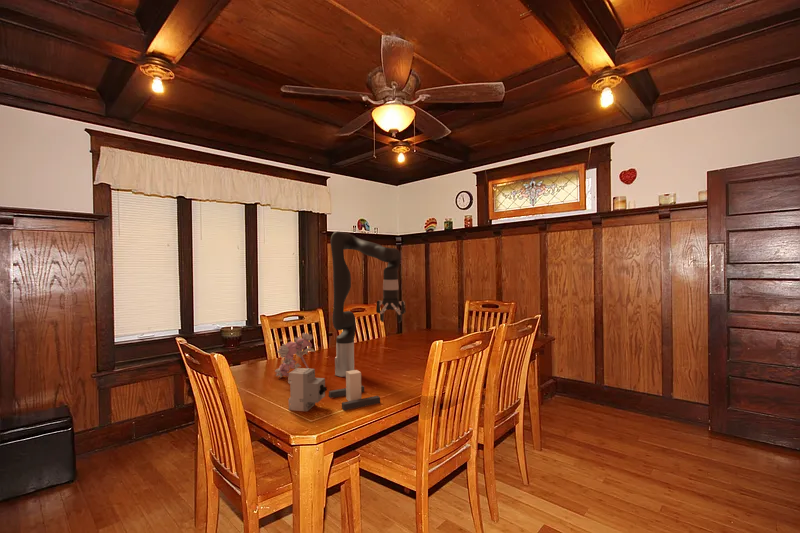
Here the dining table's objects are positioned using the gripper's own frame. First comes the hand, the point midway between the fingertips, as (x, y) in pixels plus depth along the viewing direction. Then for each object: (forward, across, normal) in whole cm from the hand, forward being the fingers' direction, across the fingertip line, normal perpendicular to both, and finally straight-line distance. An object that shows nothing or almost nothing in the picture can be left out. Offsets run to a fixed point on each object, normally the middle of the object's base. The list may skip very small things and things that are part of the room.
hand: (390, 322), depth 189 cm
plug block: (+30, -9, -26) cm, 41 cm away
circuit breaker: (+30, -23, -39) cm, 54 cm away
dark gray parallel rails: (+30, -9, -26) cm, 41 cm away
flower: (+30, -53, -4) cm, 61 cm away
